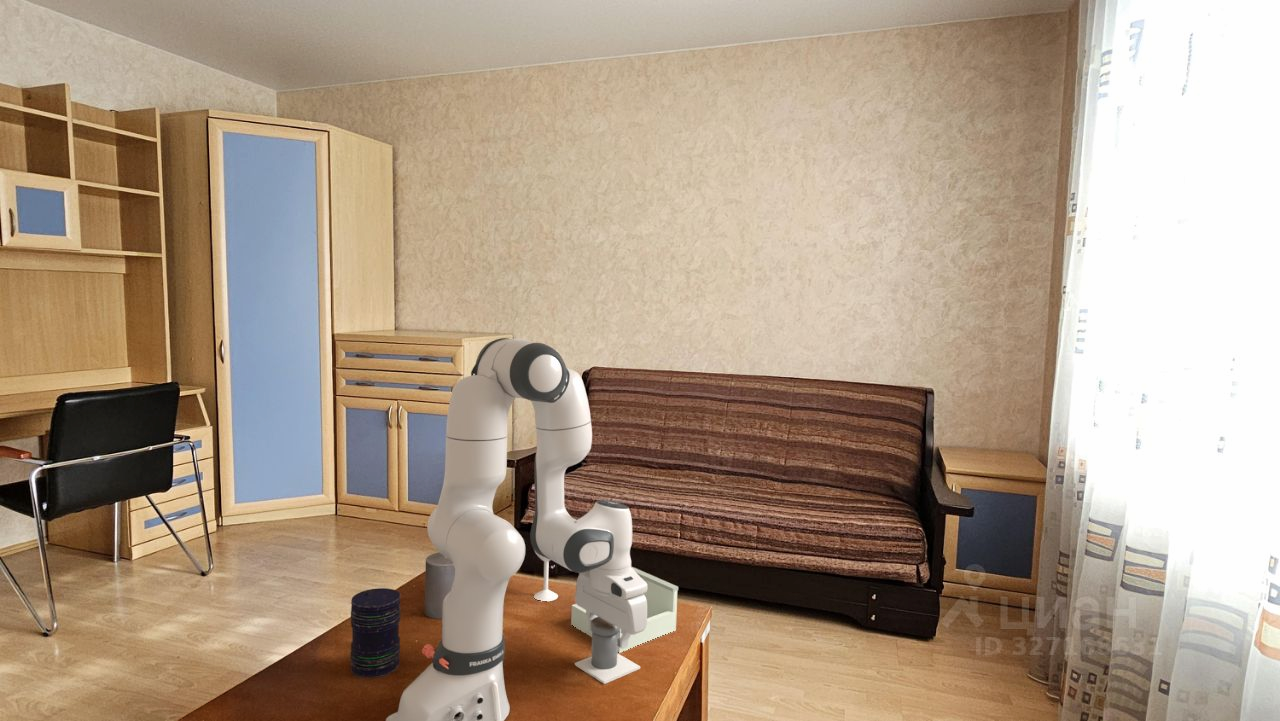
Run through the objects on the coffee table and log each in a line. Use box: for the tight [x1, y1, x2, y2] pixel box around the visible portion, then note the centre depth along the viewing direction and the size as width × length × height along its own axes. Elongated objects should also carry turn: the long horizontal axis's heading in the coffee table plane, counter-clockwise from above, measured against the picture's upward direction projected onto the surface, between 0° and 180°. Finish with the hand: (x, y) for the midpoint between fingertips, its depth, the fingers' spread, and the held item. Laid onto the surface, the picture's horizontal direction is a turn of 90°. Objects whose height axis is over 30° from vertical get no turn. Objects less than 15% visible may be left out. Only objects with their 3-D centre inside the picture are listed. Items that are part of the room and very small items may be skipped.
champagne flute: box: [533, 549, 559, 602], centre depth 187 cm, size 7×7×24 cm
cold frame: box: [570, 566, 679, 654], centre depth 170 cm, size 18×18×11 cm
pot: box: [590, 617, 620, 669], centre depth 152 cm, size 6×6×9 cm
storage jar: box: [349, 587, 401, 679], centre depth 148 cm, size 10×10×15 cm
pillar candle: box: [424, 551, 455, 620], centre depth 176 cm, size 10×10×15 cm
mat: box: [574, 652, 641, 685], centre depth 152 cm, size 10×10×1 cm
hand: (608, 638), depth 151 cm, fingers open, 8 cm apart
